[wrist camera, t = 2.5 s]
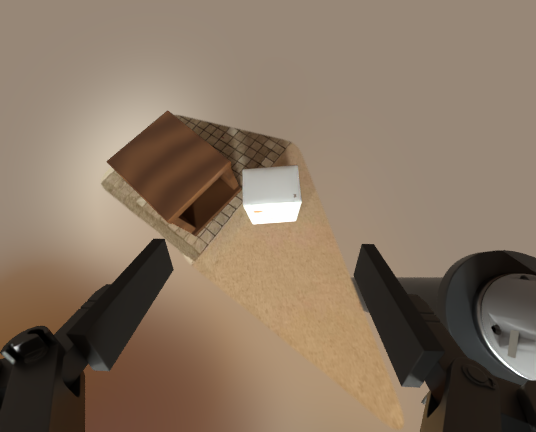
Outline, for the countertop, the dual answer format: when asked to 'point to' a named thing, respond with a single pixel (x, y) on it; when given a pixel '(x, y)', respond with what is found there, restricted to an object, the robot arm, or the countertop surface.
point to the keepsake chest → (177, 173)
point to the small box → (272, 194)
